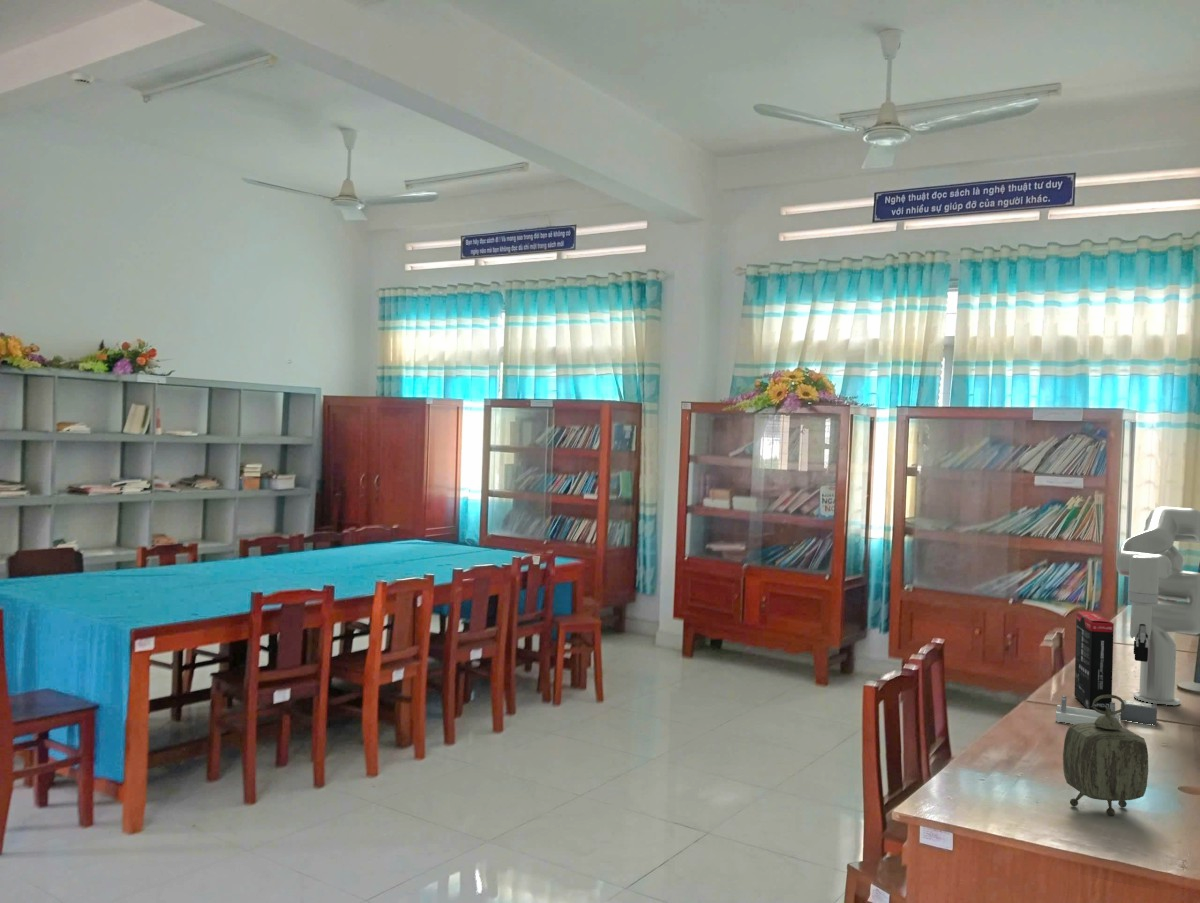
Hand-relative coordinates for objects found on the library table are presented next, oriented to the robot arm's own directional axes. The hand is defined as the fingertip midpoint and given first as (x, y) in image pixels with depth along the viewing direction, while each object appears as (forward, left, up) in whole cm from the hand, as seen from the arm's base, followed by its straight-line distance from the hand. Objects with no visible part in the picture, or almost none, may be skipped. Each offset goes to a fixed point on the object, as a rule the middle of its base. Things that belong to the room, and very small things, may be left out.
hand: (1140, 657), depth 277 cm
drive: (0, 0, -18) cm, 18 cm away
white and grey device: (+10, -13, -18) cm, 24 cm away
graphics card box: (-12, -12, -19) cm, 25 cm away
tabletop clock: (+86, -9, -18) cm, 88 cm away
